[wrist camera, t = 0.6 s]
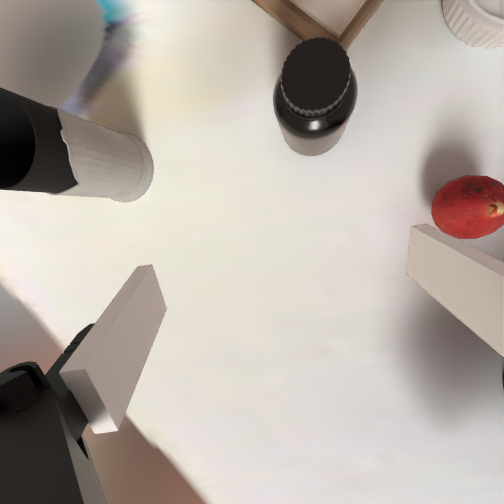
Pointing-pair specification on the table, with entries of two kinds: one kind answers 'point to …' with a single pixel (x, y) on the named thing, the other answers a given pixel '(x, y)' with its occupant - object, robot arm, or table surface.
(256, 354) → the table surface
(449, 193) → the onion
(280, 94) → the supplement bottle
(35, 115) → the glass holder
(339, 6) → the plinth
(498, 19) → the ramekin
